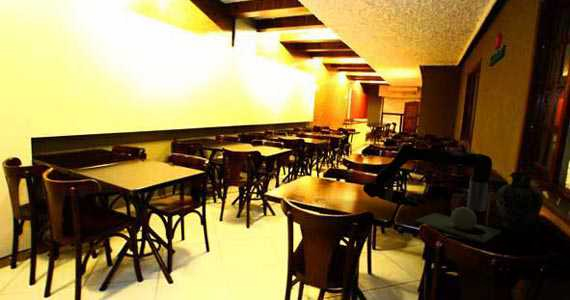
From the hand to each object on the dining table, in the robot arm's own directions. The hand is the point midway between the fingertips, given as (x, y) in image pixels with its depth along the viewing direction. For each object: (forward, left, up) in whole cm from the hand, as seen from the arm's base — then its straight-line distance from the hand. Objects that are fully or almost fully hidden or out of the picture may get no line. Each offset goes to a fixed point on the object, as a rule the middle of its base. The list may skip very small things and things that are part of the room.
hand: (421, 203), depth 171 cm
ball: (-11, +19, -2) cm, 21 cm away
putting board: (-9, +15, -7) cm, 19 cm away
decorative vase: (-41, +18, -7) cm, 45 cm away
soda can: (-23, -1, -7) cm, 24 cm away
